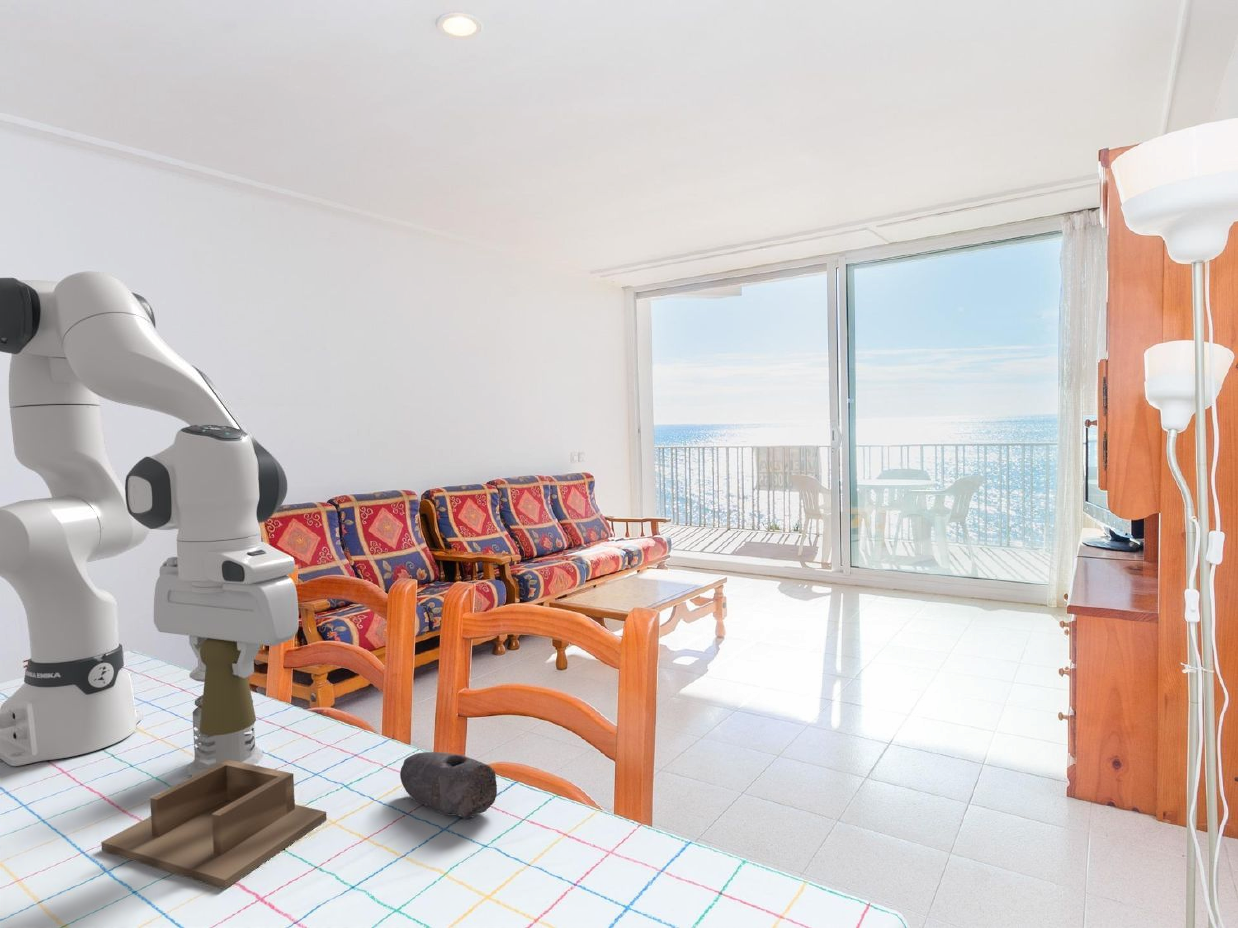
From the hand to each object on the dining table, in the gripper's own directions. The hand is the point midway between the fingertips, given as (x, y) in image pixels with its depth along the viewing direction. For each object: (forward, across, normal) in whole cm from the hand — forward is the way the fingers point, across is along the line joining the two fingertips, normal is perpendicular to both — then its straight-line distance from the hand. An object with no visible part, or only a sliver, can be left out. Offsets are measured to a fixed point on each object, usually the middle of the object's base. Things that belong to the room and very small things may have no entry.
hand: (226, 673), depth 85 cm
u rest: (+19, 0, -2) cm, 19 cm away
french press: (+19, -17, +13) cm, 29 cm away
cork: (+7, 0, 0) cm, 7 cm away
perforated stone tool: (+19, +22, +12) cm, 32 cm away
